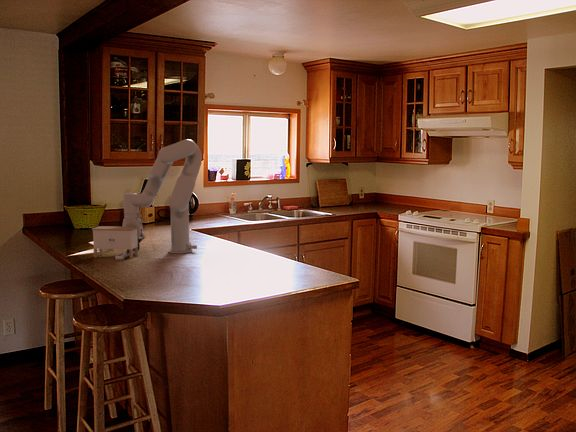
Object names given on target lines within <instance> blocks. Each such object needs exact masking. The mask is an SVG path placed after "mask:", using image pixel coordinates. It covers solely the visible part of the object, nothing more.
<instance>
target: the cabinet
mask: <svg viewBox="0 0 576 432" xmlns="http://www.w3.org/2000/svg"><path fill="white" fill-rule="evenodd" d="M137 229H138V227H122V226H117V225H116V226H113V225H112V226H111V225H109V226H107V225H106V226H104V225H101V226H100V225H99V226H96V227H93V228H91V231H92V236H93V237H92V238H93V258H98V250H99V256H102V255H104V250H127V249H129V251H130V256H129V259H134V256H135V257H137V256H138V255H139V251H138V242H137ZM134 248H135V253H134V254H133V249H134Z"/></svg>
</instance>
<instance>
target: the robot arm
mask: <svg viewBox="0 0 576 432" xmlns="http://www.w3.org/2000/svg"><path fill="white" fill-rule="evenodd" d="M184 158H185V161H184V164H183V166H182V170H181V173H180V174H179V175H178V177H177V179H176V182H175V185H174V188H173V190H172V192H171V196H170V198H169V201H168V204H169V208H170V240H171V241H170V243H171V244H170V245H171V246H170V247H171V248H169V249H168V253H170V254H176V255H177V254H180V255H182V254H189V253H192V252H193V250H197V249H198V246H197V244H192V242H190V215H189V213H190V203H189V202H190V200H191V197H192V196H193V192H194V189H195V186H196V181H197V179H198V175H199V173H200V170H201V166H202V163H203V155H202V151H201V149H200V147H199V145H198V144H197V143H196V142H195V141H194V140H192V139H189V138H187V139H183V140H180V141H178V142H176V143H175V142H174V143H172V144H169V145H167V146H164V147H162V148H160V150H159V151H158V154H157V156H156V159H155V161H154V163H153V165H152V168H151V169H150V171H149V173H148V174H149V175H148V179H147V182H146V184H145V187H144V189H143V190H142V192H141V193H136V192H126V193H124V194H123V214H124V215H123V217H124V218H123V220H122V226H121V227H138V229H137V242H138V252H139V251H140V243H141V242H142V241H143V240H145V239H146V235H145V234H144V229H143V221H142V219H141V218H142V216H143V215H142V213H141V214H140V207H141V208H148V207H150V206H152V204H153V203H154V202H155V199H156V198H157V196H158V194H159V192H160V190H161V188H162V185H163V184H164V182H165V181H166V179H167V176H168V173H169V172H170V170H171V168H172V167H173V163H174V162H176V161H180V160H182V159H184ZM126 251H128V249H126Z"/></svg>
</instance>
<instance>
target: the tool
mask: <svg viewBox="0 0 576 432" xmlns="http://www.w3.org/2000/svg"><path fill="white" fill-rule="evenodd" d="M118 255H124V259H125V258H127V257H130V251H129V249H128V251H127V250H125V251H124V252H121V253H119V254H118ZM133 255H135V248H134V249H133Z"/></svg>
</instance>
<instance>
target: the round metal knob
mask: <svg viewBox="0 0 576 432" xmlns="http://www.w3.org/2000/svg"><path fill="white" fill-rule="evenodd" d="M114 257H115V261H124V260H125V258H124V255H119V254H117V255H115V256H114Z"/></svg>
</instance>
